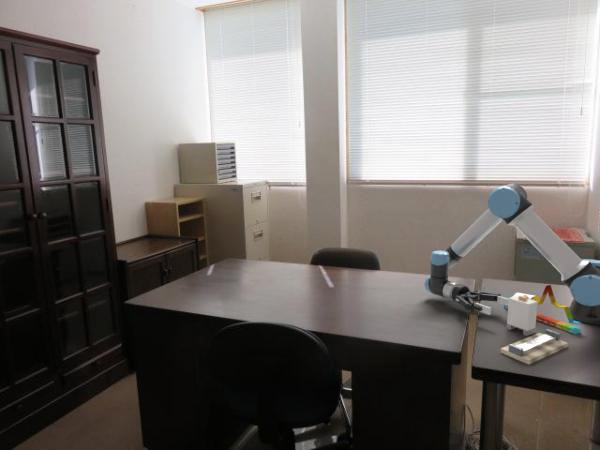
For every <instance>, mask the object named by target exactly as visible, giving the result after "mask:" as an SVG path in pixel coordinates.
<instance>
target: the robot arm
mask: <svg viewBox="0 0 600 450" xmlns="http://www.w3.org/2000/svg"><path fill="white" fill-rule="evenodd" d="M502 221H503V222H504V223H505V224H506V225H507V226H513V227H515V228H516V230H518V231H519V232H520V233H521V235H523V236H524V237H525V238H526V239H527V240H528V241H529V242H530V244H531V245H532V246H533V247H534V248H535V249H536V250H537V251H538V252H539V253H540V254H541V255H542V256H543V257H544V258H545V259H546V260H547V261H548V262H549V263H550V264H551V266H552V267H554V268H555V269H556V271H557V272H558V273H559V274H560V275H561V276H560V277H561V278H560V280H561V282H562V283H564V285H565V286H566V287H567V288H568V289H569V292H570V294H571V296H572V298H573V299H572V301H571V303H570V306H568V307H569V309H570V312H571V314H572V317H573V319H574V321H577V322H581V323H584V324H588V325H589V324H590V325H597V326H600V260H597V259H590V258H589V259H586V258H585V259H584V258H583V259H582V258H580V256H578V255H577V253H576V252H575V251H574V250H572V248H571V247H569V245H568V244H567V243H566V242H565V241H564V240H562V238H560V236H559V235H558V234H557V233H556V232H555V231H554V230H552V228H551V227H550V226H549V225H547V223H546V222H545V221H544V220H543V219H542V218H541V217H539V216H538V214H537V213H536V212H535V211H534V204H533V203H532V202H531V201H530V200H528V194H527V191H526V190H525V188H524V187H522V186H521V184H516V183H507V184H504V185H500V186H498V187H496V188H495V189H494V190H492V192H490V194H489V196H488V198H487V209H486V210H485V211H484V212H483V213H482V214H481V215H480V216H479V217H478V218H477V219H475V221H474V222H473V223H472V224H471V225H470V226H469V227H468V228H467V229H466V230H465V231H464V232H463V233H462V234H461V235H460V236H459V237H458V238H457V239H455V241H454V242H453V243H452V244H451V245H449V246H448V247H447V249H445V250H435V251H432V252H431V254H430V275H429V276H427V277H426V279H425V282H424V289H425V290H426V291H427V292H429V293H431V294H433V295H435V296H439V297H440V298H441V297H442V298H445V299H448V300H449V301H451V302H452V301H453V302H455V303H457V304H458V305H460V306H461V307H463V308H464V309H465V310H466V311H470V312H475V311H477V312H480V313H483V314H485V315H488V316H491V315H492V314H491V313H492V307H490V306H487V305H484V304H481V303H478V302H482V301H484V302H485V301H487V302H496V303H497V304H500V305H503V306H504V305H506V306H508V301H509V299H507V298H506V297H504V296H502V294H501V293H498V292H497V293H496V292H489V291H482V290H478V289H476V290H475V291H474V290H473V291H472V290H470V287H469V286H467V285H463V284H460V283H458V282H455V281H450V280H449V270H450V269H451V268H453V267H454V266H456V265H457V264H459V262H461V260H462V259H463V258H464V257H465V256H466V255H467V254H469V252H471V251H472V250H473V249H474V248H475V247H476V246H477V245H478V244H479V243H480V242H481V241H483V239H484V238H485V237H486V236H488V235H489V233H491V232H492V231H493V230H494V229H495V228H496V227H497V226H498V225H499V224H501V222H502Z"/></svg>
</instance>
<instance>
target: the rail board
mask: <svg viewBox="0 0 600 450" xmlns="http://www.w3.org/2000/svg"><path fill="white" fill-rule="evenodd" d="M544 334H545V333H542V332H537V333H536V334H535V333H534V334H532V335H531V336H530V335H529V336H527V337H525V338H524V339H521V340H518V341H516V342H513V343H512V344H513V345H515V346H518V345H520V344H522V343H525V342H527V341H530V340H532V339H535V338H537V337H539V336H542V335H544ZM568 345H569V342H567V341H564V340H561V339H560V340H558V341H557V340H556V341H554V342H551V343H549V344H547V345H544V346H542V347H540V348H537V349H535V350H533V351H531V352H528V353H526V354H524V355H523V356H522V357H520V356H518V355H516V354H513V353H511V352H508V351H509V344H508V345H506V346H503V347H501V348H500V354H502V355H505V356H508V357H510V358H513V359H515V360H517V361H519V362H522V363H524V364H526V365H531V364H533V363H536V362H538V361H541V360H542V359H544V358H547V357H549V356H551V355H553V354H555V353H558V352H559V351H561V350H564V349H566V348H568V347H569V346H568Z"/></svg>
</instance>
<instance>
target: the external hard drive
mask: <svg viewBox="0 0 600 450" xmlns="http://www.w3.org/2000/svg"><path fill="white" fill-rule="evenodd" d="M521 295H522V296H524V295H526V296H527V297H528V298H529V299H531V298H532V297H533V296H535V295H534V294H533V295H532V294H527V293H522V292H515V293H514V295H513V296H512V297H514V296H521ZM533 300H534V301H535V299H533Z"/></svg>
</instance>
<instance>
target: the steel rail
mask: <svg viewBox="0 0 600 450" xmlns="http://www.w3.org/2000/svg"><path fill="white" fill-rule="evenodd" d="M543 334H544V335H542V336H539V337H537V338H535V339H532V340H530V341H527V342H525V343H522V344H520V345H518V346H515V345H513V343H510V344H508V345H509V351H508V352H511V353H513V354H516V355H518V356H520V357H522V356H523V355H524V354H526V353H528V352H531V351H533V350H535V349H537V348H540V347H542V346H544V345H547V344H549V343H551V342H554V341H556V340H557V341H558V340H561V333H560V332H559V331H555V330H551V329H549V328H546V329H545V333H543Z"/></svg>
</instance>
